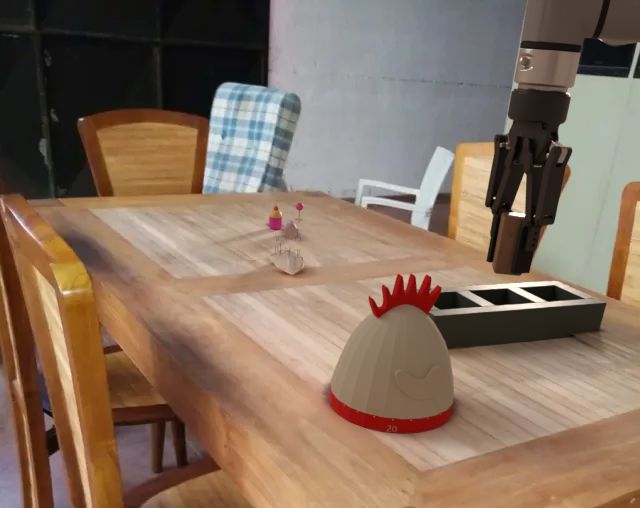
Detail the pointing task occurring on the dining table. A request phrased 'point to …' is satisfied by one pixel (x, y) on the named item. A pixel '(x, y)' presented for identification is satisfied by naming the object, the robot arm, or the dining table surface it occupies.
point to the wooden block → (506, 242)
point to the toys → (288, 226)
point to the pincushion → (287, 260)
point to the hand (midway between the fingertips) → (507, 266)
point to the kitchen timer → (396, 365)
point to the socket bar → (513, 313)
